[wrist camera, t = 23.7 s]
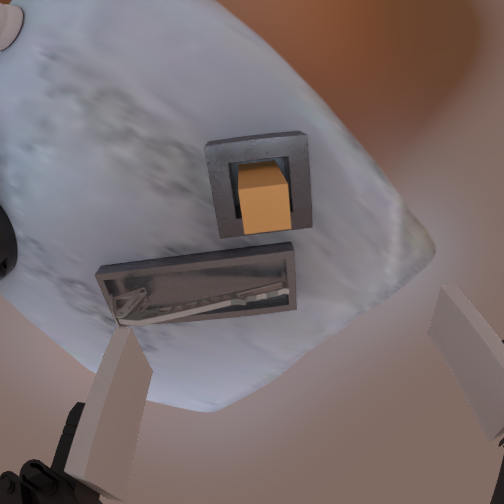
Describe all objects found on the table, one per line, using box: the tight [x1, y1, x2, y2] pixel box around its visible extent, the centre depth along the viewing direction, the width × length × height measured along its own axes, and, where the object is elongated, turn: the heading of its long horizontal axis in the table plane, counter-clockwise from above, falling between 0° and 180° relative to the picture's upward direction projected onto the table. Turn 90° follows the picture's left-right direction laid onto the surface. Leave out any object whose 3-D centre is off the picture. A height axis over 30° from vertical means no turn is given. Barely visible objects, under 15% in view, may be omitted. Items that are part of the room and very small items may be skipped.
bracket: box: [110, 281, 289, 329], centre depth 37 cm, size 3×21×10 cm, turn 95°
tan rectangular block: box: [238, 160, 291, 234], centre depth 29 cm, size 4×4×10 cm
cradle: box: [95, 242, 297, 324], centre depth 39 cm, size 26×9×2 cm, turn 97°
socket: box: [204, 131, 312, 239], centre depth 31 cm, size 10×10×4 cm
